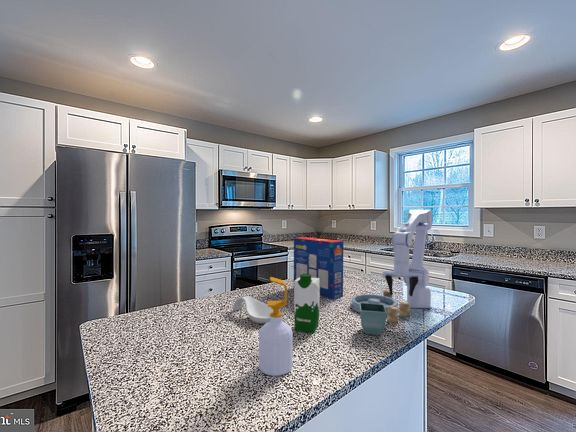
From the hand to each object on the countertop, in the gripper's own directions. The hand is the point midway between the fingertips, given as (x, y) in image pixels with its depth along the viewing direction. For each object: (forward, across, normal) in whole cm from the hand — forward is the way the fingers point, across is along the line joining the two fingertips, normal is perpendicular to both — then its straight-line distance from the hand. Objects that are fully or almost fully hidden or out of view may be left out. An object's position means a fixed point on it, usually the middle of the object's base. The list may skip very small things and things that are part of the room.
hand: (400, 294), depth 119 cm
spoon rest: (+10, -59, -10) cm, 61 cm away
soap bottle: (+10, -42, -46) cm, 63 cm away
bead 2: (+9, -4, -5) cm, 11 cm away
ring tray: (+9, -9, +10) cm, 16 cm away
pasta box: (+9, -36, +31) cm, 48 cm away
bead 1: (+9, -2, +20) cm, 22 cm away
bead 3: (+9, +2, +2) cm, 9 cm away
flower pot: (+10, -13, -17) cm, 24 cm away
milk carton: (+10, -36, -18) cm, 42 cm away
